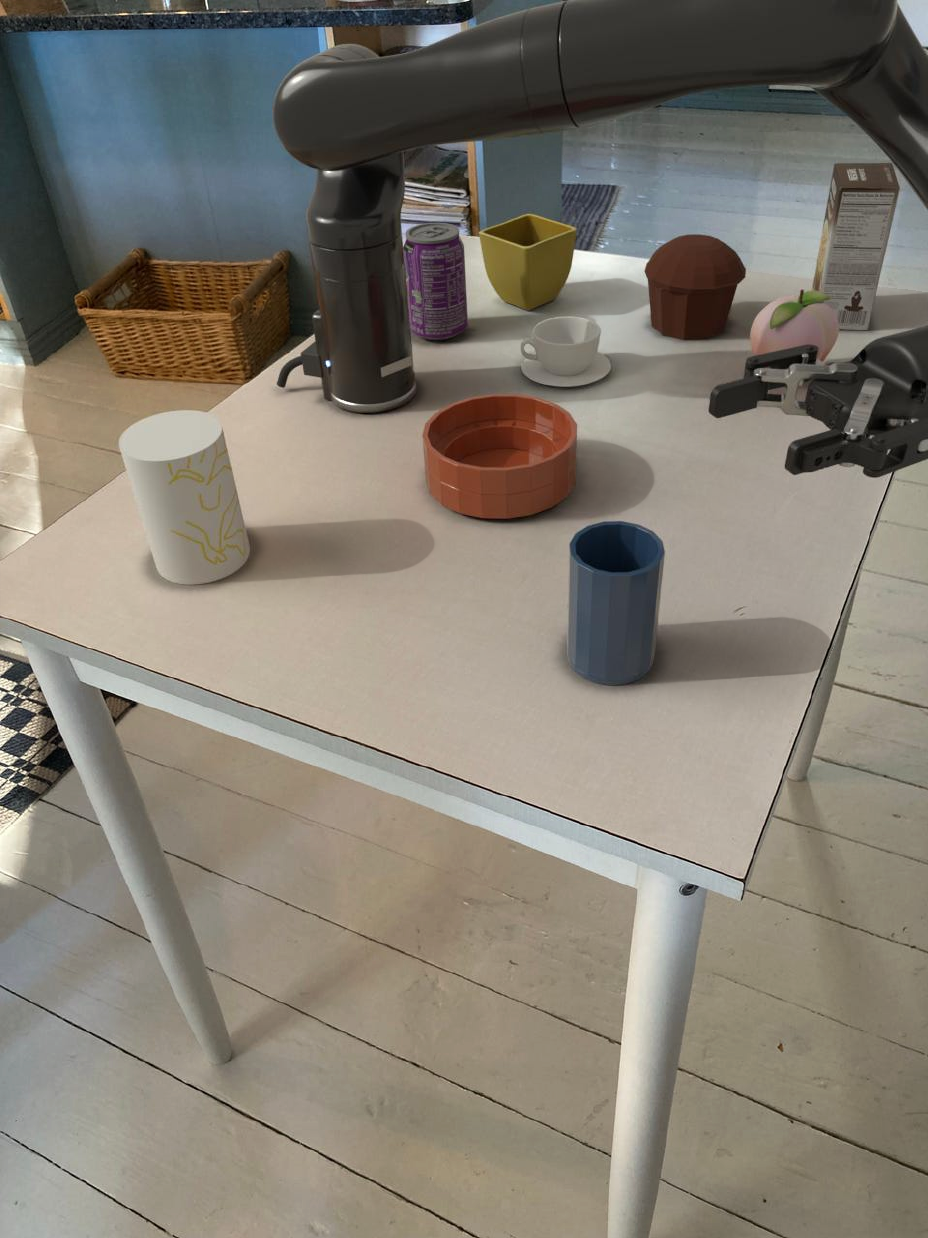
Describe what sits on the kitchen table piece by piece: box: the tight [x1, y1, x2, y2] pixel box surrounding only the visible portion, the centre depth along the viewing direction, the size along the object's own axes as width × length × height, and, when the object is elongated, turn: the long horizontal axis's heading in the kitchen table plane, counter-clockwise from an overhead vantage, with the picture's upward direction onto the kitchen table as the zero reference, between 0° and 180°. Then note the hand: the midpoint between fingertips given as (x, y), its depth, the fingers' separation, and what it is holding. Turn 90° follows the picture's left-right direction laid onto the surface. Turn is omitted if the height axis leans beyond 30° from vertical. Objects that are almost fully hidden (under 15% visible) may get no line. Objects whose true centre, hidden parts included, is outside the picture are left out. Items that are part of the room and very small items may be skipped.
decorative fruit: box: [749, 289, 840, 369], centre depth 104 cm, size 9×8×10 cm
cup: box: [118, 409, 251, 586], centre depth 83 cm, size 8×8×12 cm
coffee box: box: [811, 162, 901, 331], centre depth 114 cm, size 9×6×16 cm
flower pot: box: [478, 213, 578, 311], centre depth 124 cm, size 9×9×9 cm
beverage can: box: [403, 222, 469, 341], centre depth 117 cm, size 7×7×12 cm
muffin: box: [643, 233, 747, 341], centre depth 116 cm, size 12×11×10 cm
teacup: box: [520, 315, 612, 387], centre depth 110 cm, size 10×10×5 cm
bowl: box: [421, 393, 578, 520], centre depth 92 cm, size 14×14×6 cm
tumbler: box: [566, 520, 666, 686], centre depth 71 cm, size 6×6×10 cm
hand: (749, 430), depth 67 cm, fingers open, 8 cm apart
